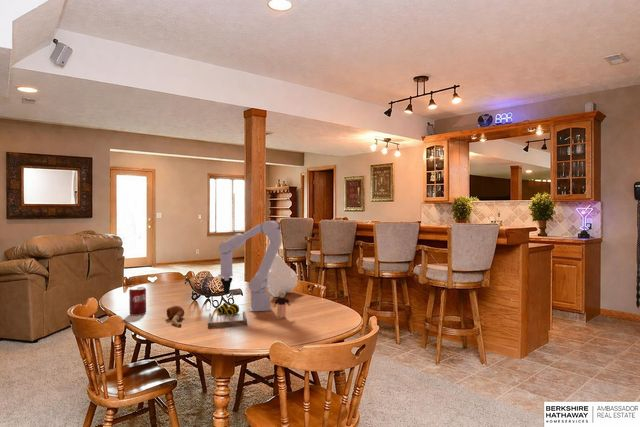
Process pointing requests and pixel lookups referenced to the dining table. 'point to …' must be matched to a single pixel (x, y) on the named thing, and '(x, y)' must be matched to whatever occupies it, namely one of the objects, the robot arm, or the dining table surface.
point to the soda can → (137, 301)
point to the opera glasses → (228, 309)
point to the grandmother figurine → (281, 305)
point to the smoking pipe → (175, 314)
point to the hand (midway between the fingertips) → (226, 292)
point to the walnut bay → (227, 322)
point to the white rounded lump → (280, 277)
